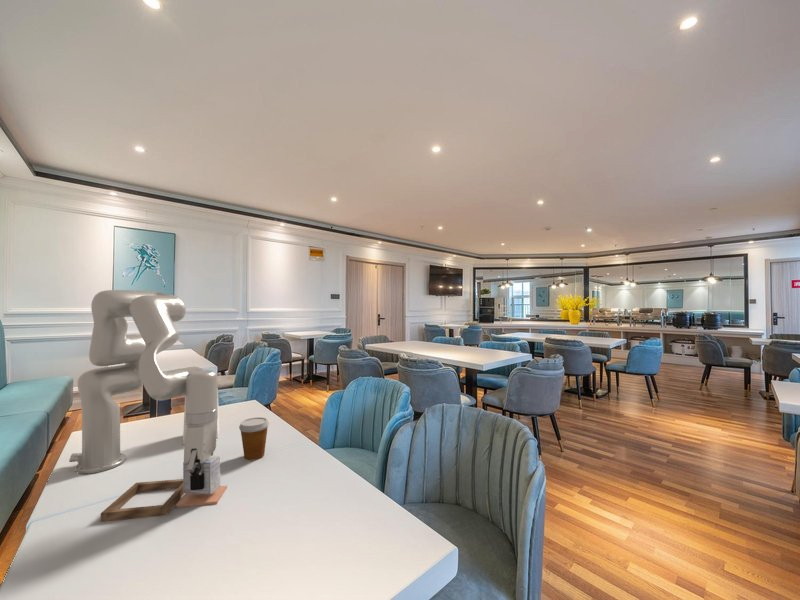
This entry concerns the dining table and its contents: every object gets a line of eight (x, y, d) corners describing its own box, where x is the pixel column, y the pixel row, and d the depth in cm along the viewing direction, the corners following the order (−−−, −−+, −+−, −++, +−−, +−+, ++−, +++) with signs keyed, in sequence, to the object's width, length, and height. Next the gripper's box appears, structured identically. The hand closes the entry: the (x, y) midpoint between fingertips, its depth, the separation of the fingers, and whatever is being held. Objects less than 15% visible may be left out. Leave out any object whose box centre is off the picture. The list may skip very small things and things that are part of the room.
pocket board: (100, 521, 84) (100, 513, 84) (136, 489, 98) (136, 482, 98) (165, 515, 86) (165, 507, 86) (191, 485, 101) (191, 478, 101)
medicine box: (220, 486, 96) (220, 455, 96) (210, 495, 92) (210, 462, 92) (193, 485, 97) (193, 454, 97) (182, 494, 93) (182, 461, 93)
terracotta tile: (175, 507, 90) (175, 505, 90) (189, 490, 98) (189, 488, 98) (216, 503, 91) (216, 501, 91) (227, 487, 99) (227, 485, 99)
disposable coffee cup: (258, 463, 114) (258, 427, 114) (232, 461, 116) (232, 425, 116) (274, 451, 123) (274, 417, 123) (250, 449, 125) (250, 416, 125)
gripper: (200, 407, 103) (200, 469, 102) (171, 428, 86) (171, 502, 86) (227, 406, 104) (227, 467, 104) (204, 427, 87) (204, 499, 87)
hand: (202, 482), depth 95 cm, fingers closed on medicine box, 5 cm apart
